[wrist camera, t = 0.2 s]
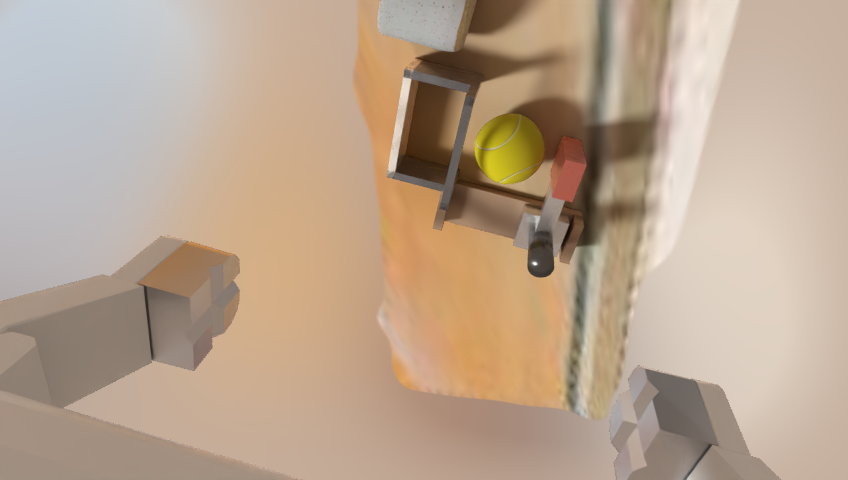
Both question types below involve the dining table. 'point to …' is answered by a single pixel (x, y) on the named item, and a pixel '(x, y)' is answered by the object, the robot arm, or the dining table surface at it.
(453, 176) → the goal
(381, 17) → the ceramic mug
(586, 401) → the dining table surface
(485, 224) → the track
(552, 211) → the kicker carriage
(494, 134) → the tennis ball
